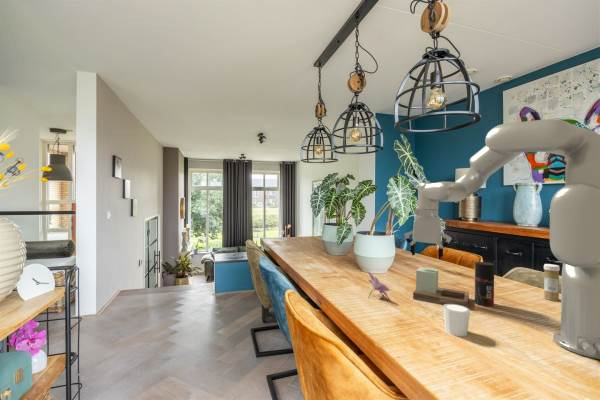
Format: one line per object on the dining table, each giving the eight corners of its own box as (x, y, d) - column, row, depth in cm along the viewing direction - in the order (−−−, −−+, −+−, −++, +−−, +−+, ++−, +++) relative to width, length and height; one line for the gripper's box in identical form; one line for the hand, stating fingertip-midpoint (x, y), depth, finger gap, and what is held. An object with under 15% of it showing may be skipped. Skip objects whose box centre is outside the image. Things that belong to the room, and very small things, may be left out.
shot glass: (445, 324, 86) (446, 301, 86) (471, 331, 82) (471, 307, 82) (440, 332, 81) (440, 308, 81) (467, 340, 76) (467, 314, 76)
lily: (389, 308, 101) (399, 283, 104) (359, 293, 104) (369, 269, 106) (382, 306, 113) (390, 284, 115) (355, 292, 115) (364, 271, 117)
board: (467, 309, 98) (467, 285, 98) (413, 298, 108) (413, 277, 108) (468, 298, 109) (469, 276, 109) (419, 289, 119) (419, 270, 119)
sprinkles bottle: (560, 300, 108) (561, 265, 108) (557, 302, 106) (557, 266, 106) (545, 296, 112) (546, 263, 112) (541, 298, 110) (542, 264, 110)
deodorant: (485, 307, 100) (485, 265, 100) (470, 301, 106) (471, 262, 106) (497, 306, 101) (498, 264, 101) (483, 300, 107) (483, 261, 107)
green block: (435, 294, 106) (435, 273, 106) (416, 290, 110) (416, 270, 110) (438, 289, 112) (438, 269, 112) (419, 286, 116) (419, 267, 116)
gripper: (402, 213, 113) (401, 255, 113) (451, 215, 103) (449, 261, 104) (407, 212, 119) (405, 252, 120) (453, 214, 110) (451, 257, 110)
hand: (426, 256), depth 112 cm, fingers open, 9 cm apart
